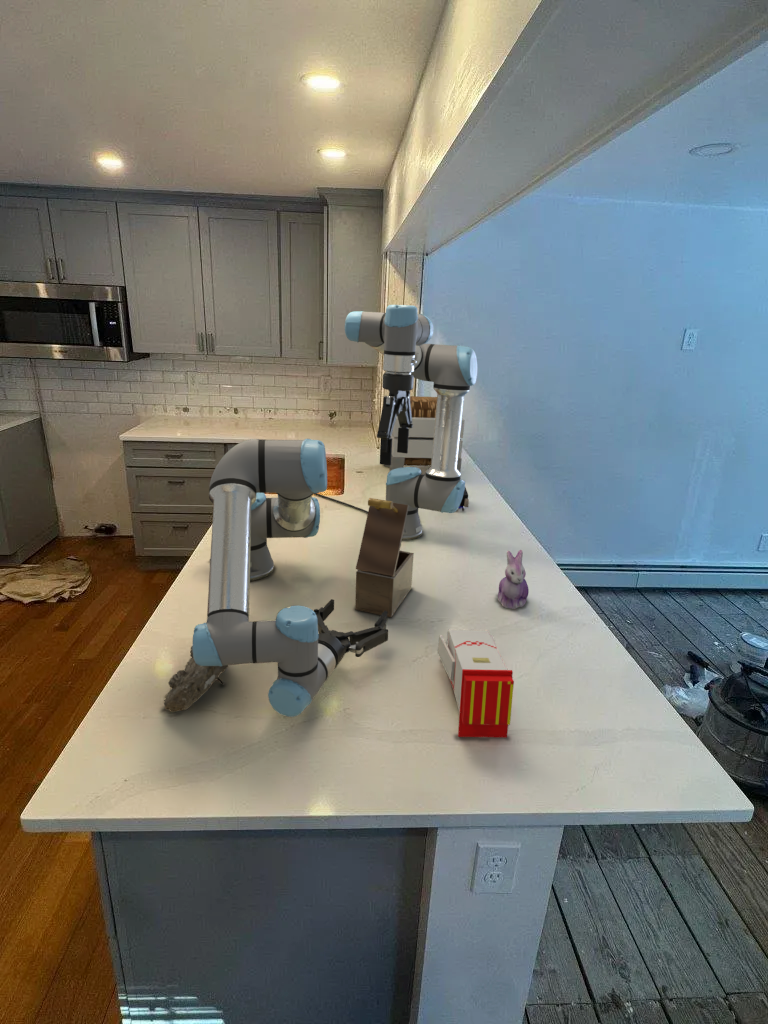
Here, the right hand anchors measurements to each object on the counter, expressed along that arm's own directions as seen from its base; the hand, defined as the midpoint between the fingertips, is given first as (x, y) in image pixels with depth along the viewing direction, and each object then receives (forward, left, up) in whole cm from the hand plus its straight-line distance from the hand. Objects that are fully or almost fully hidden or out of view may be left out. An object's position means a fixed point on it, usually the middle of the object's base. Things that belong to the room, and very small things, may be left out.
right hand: (394, 458), depth 144 cm
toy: (+42, -14, -39) cm, 59 cm away
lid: (+3, -5, -20) cm, 20 cm away
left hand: (+11, -19, -32) cm, 39 cm away
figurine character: (-40, +72, -39) cm, 91 cm away
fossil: (+6, -56, -39) cm, 68 cm away
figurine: (+24, +25, -39) cm, 52 cm away
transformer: (-84, +94, -39) cm, 132 cm away
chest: (+1, -2, -39) cm, 39 cm away
